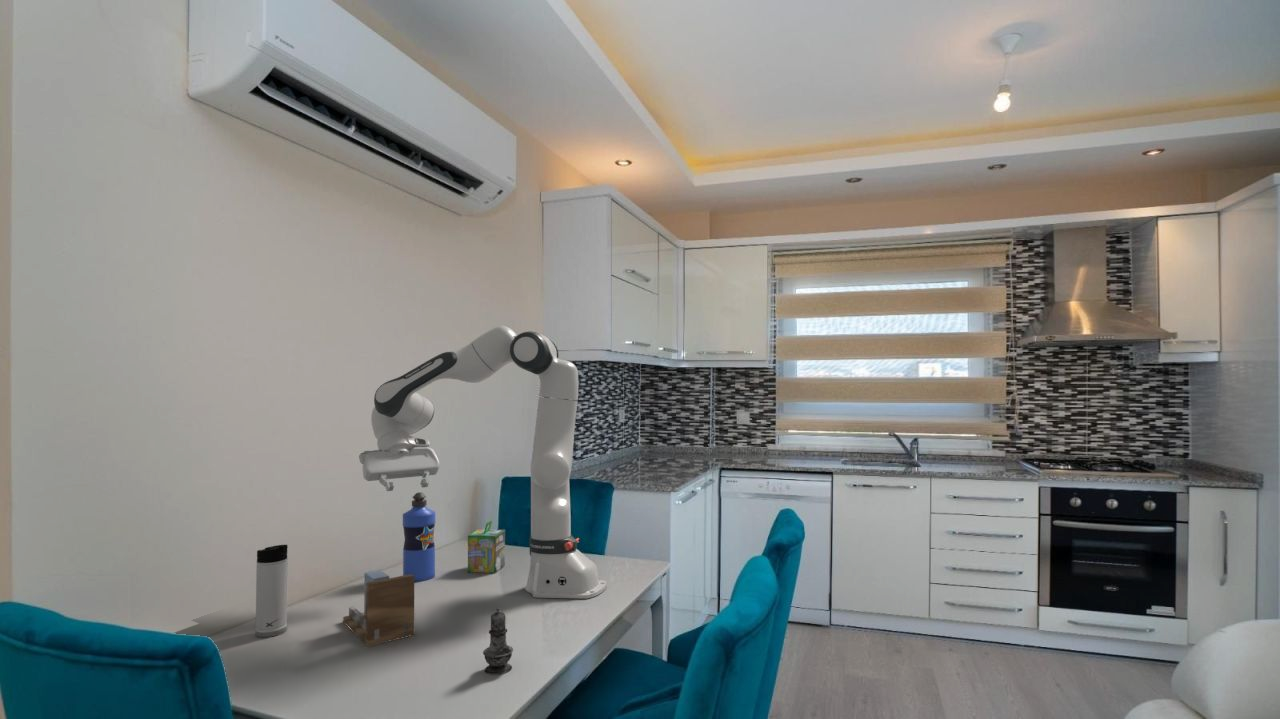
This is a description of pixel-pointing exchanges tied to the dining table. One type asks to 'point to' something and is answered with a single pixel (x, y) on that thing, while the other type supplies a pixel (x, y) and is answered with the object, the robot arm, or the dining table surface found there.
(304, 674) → the dining table surface
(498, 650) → the salt shaker
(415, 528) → the water bottle
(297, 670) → the dining table surface
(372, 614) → the brown wooden holder
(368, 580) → the pale blue rectangular block
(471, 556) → the chalk box
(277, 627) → the travel mug
